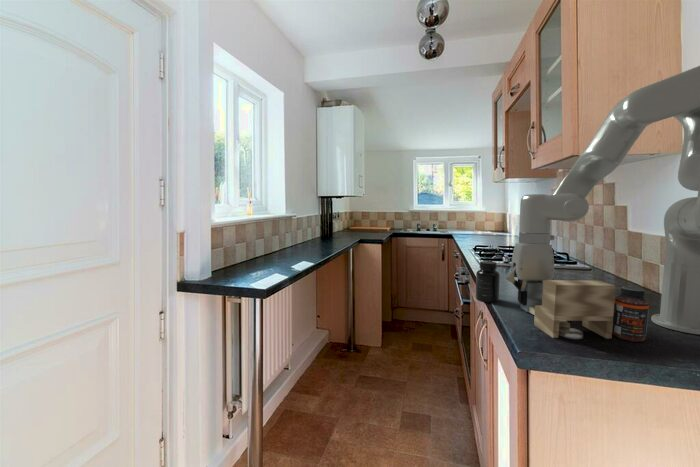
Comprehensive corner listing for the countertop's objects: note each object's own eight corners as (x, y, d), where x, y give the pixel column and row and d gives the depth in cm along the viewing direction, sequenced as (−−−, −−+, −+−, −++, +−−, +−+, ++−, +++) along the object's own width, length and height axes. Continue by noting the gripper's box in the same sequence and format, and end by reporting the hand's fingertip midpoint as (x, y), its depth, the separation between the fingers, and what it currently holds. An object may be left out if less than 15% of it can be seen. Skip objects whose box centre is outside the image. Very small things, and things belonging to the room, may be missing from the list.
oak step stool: (587, 325, 83) (590, 277, 82) (611, 338, 75) (615, 285, 74) (534, 325, 83) (536, 277, 82) (552, 337, 75) (555, 285, 74)
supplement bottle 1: (479, 296, 110) (481, 259, 109) (501, 299, 106) (503, 262, 105) (472, 300, 105) (473, 262, 104) (495, 304, 101) (496, 264, 100)
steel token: (573, 332, 80) (573, 327, 80) (588, 340, 75) (588, 335, 75) (552, 332, 80) (552, 327, 80) (565, 340, 75) (565, 335, 75)
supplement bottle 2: (618, 340, 74) (622, 290, 73) (607, 331, 80) (610, 284, 79) (651, 344, 72) (656, 292, 71) (638, 334, 78) (641, 286, 77)
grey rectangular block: (534, 307, 97) (535, 280, 96) (571, 329, 80) (573, 296, 79) (520, 307, 97) (521, 280, 96) (554, 329, 80) (556, 296, 79)
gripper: (556, 238, 97) (553, 300, 98) (497, 237, 97) (495, 300, 99) (573, 240, 89) (569, 308, 91) (509, 240, 90) (506, 308, 91)
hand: (530, 303), depth 95 cm, fingers closed on grey rectangular block, 4 cm apart
